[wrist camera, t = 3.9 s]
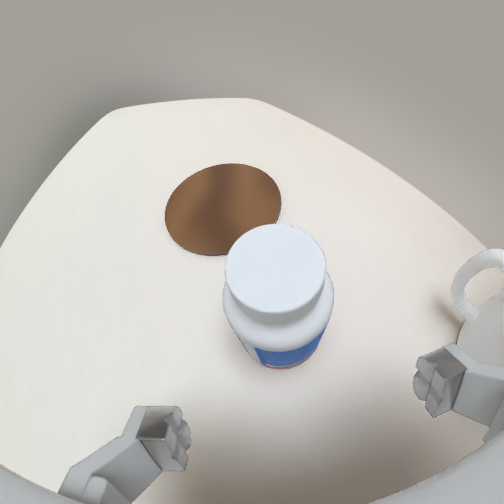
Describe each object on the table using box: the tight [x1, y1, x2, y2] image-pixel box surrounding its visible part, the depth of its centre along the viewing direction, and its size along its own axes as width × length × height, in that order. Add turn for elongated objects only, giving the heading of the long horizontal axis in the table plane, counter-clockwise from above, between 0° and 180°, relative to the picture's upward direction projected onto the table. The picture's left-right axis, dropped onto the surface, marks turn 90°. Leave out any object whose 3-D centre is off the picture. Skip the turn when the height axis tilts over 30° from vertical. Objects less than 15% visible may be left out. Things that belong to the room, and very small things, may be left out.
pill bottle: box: [223, 224, 334, 369], centre depth 15 cm, size 6×5×10 cm
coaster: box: [165, 164, 281, 255], centre depth 25 cm, size 11×11×1 cm
